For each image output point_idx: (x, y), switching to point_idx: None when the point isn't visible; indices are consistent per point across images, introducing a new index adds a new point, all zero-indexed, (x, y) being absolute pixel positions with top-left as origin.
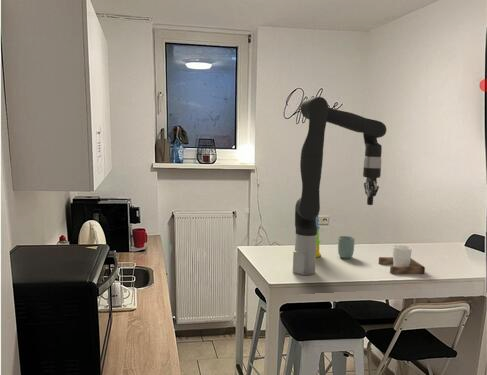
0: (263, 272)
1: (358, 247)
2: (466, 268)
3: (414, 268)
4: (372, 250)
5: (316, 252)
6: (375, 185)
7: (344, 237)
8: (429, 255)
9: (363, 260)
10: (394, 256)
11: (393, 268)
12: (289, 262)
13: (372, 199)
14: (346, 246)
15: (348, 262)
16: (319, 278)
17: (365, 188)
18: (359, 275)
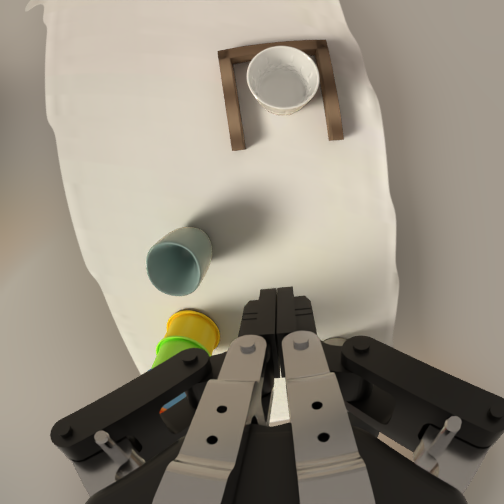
0: None
1: (84, 188)
2: None
3: (332, 69)
4: (103, 149)
5: (207, 329)
6: (478, 461)
7: (151, 270)
8: (135, 4)
9: (211, 193)
10: (292, 111)
11: (341, 133)
12: None
13: (313, 325)
14: (207, 264)
15: (242, 244)
16: (375, 330)
17: (171, 444)
18: (359, 237)
